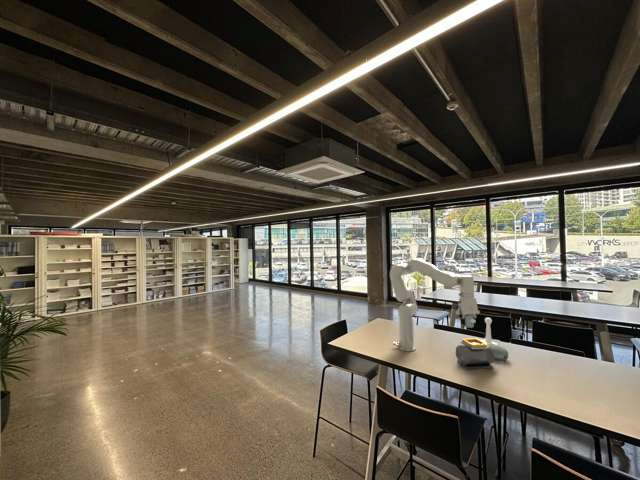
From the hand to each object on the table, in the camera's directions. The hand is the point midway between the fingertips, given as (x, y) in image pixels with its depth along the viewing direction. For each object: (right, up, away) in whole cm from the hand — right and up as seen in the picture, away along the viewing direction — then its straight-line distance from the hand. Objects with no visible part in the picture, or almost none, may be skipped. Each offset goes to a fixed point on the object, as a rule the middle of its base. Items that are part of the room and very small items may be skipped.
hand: (468, 324), depth 163 cm
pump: (0, -1, -1) cm, 2 cm away
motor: (+2, -24, -3) cm, 25 cm away
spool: (+22, -25, +7) cm, 34 cm away
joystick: (+31, -25, +29) cm, 49 cm away
